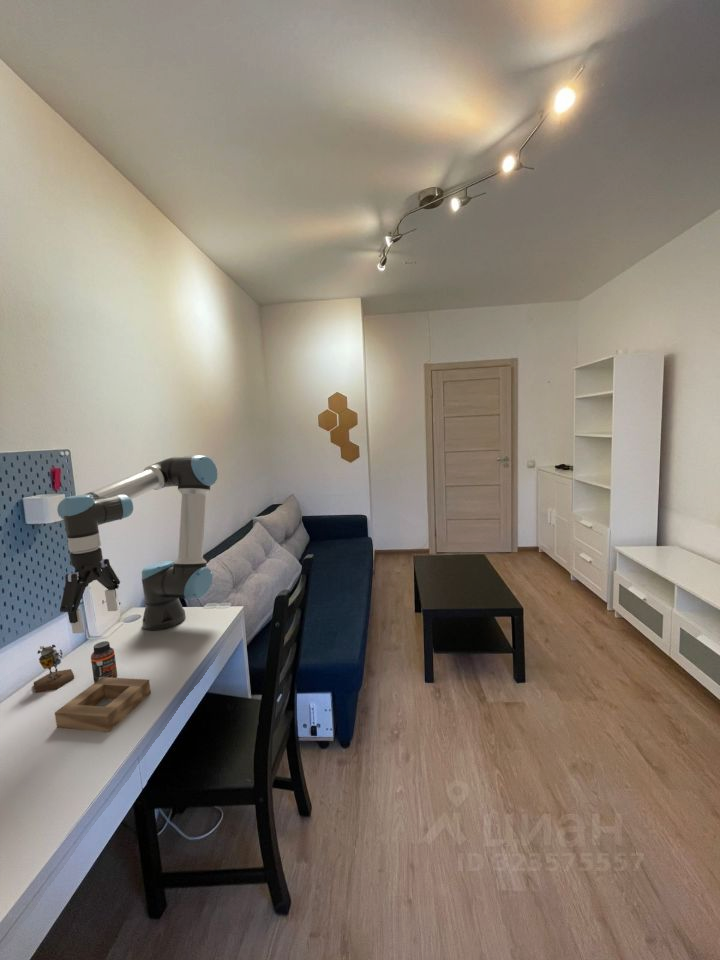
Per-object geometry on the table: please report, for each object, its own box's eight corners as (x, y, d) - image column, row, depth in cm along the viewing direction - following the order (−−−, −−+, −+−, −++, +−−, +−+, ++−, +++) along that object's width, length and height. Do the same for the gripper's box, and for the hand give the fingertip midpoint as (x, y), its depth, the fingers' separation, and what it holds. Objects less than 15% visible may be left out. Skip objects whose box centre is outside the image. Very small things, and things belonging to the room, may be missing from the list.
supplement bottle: (106, 687, 119) (101, 650, 118) (89, 685, 120) (83, 649, 119) (122, 675, 125) (117, 639, 124) (105, 674, 126) (100, 638, 125)
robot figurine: (82, 670, 129) (76, 633, 128) (68, 687, 120) (62, 648, 119) (42, 676, 127) (36, 639, 126) (24, 694, 118) (18, 655, 117)
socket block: (104, 690, 118) (102, 677, 117) (150, 693, 115) (149, 679, 114) (56, 727, 103) (54, 712, 102) (108, 731, 100) (106, 716, 100)
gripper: (104, 538, 129) (114, 603, 132) (34, 564, 105) (48, 643, 107) (126, 537, 128) (136, 602, 131) (61, 563, 104) (74, 643, 106)
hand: (96, 621), depth 119 cm, fingers open, 13 cm apart
